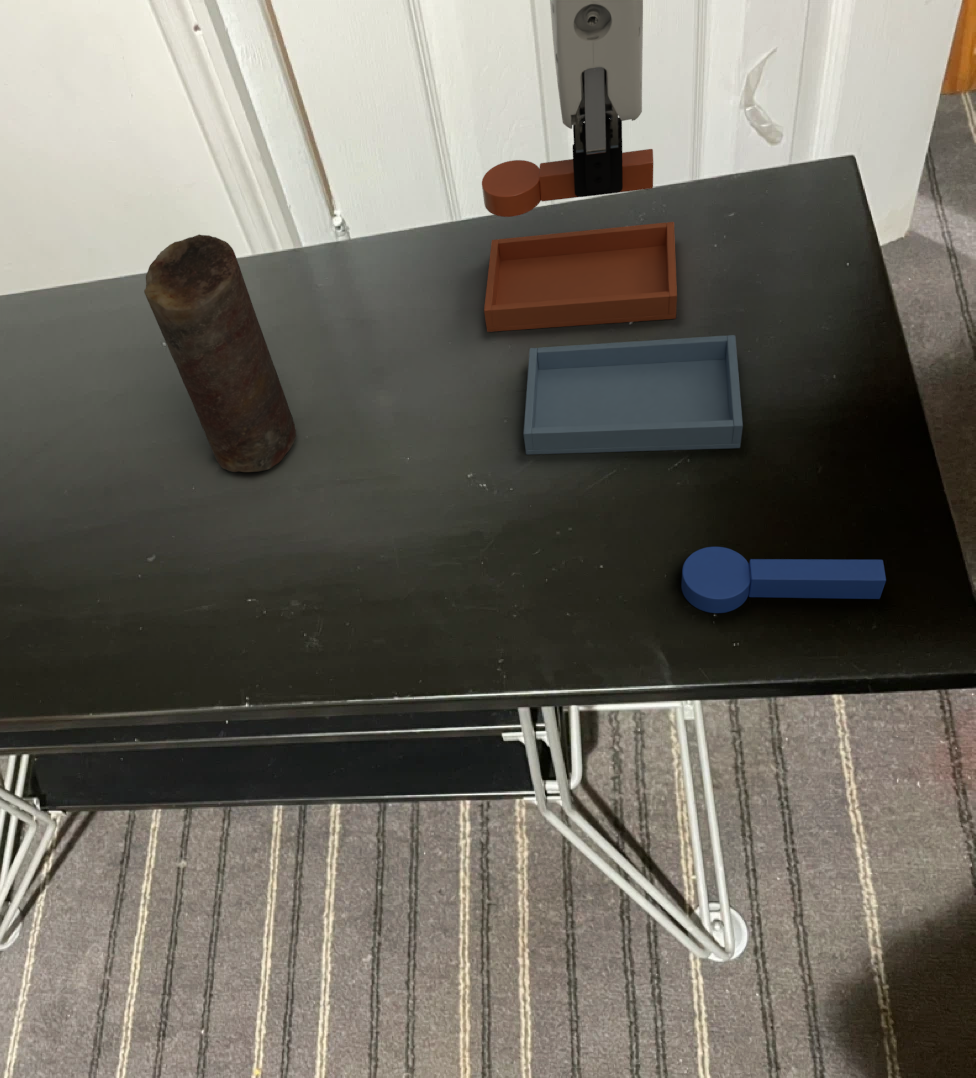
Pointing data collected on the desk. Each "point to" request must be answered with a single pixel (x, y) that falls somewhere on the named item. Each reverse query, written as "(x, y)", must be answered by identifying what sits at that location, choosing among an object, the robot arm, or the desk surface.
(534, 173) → the terracotta spoon
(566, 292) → the terracotta tray
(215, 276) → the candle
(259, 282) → the desk surface
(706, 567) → the blue spoon
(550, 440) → the blue tray
